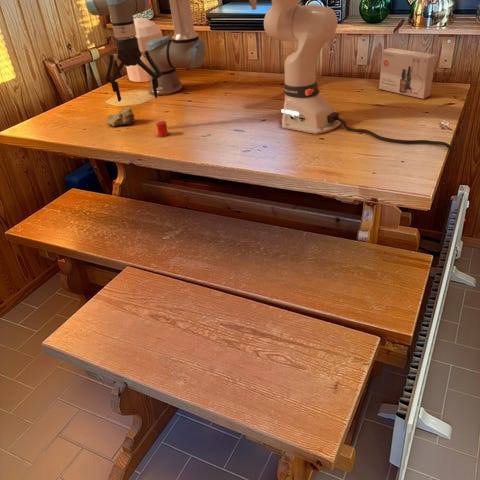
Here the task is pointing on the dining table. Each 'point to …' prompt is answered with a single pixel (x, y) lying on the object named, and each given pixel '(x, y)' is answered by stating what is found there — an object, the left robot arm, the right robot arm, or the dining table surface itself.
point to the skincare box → (407, 72)
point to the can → (162, 128)
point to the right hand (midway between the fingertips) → (253, 7)
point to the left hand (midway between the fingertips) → (138, 98)
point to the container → (143, 47)
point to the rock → (121, 118)
